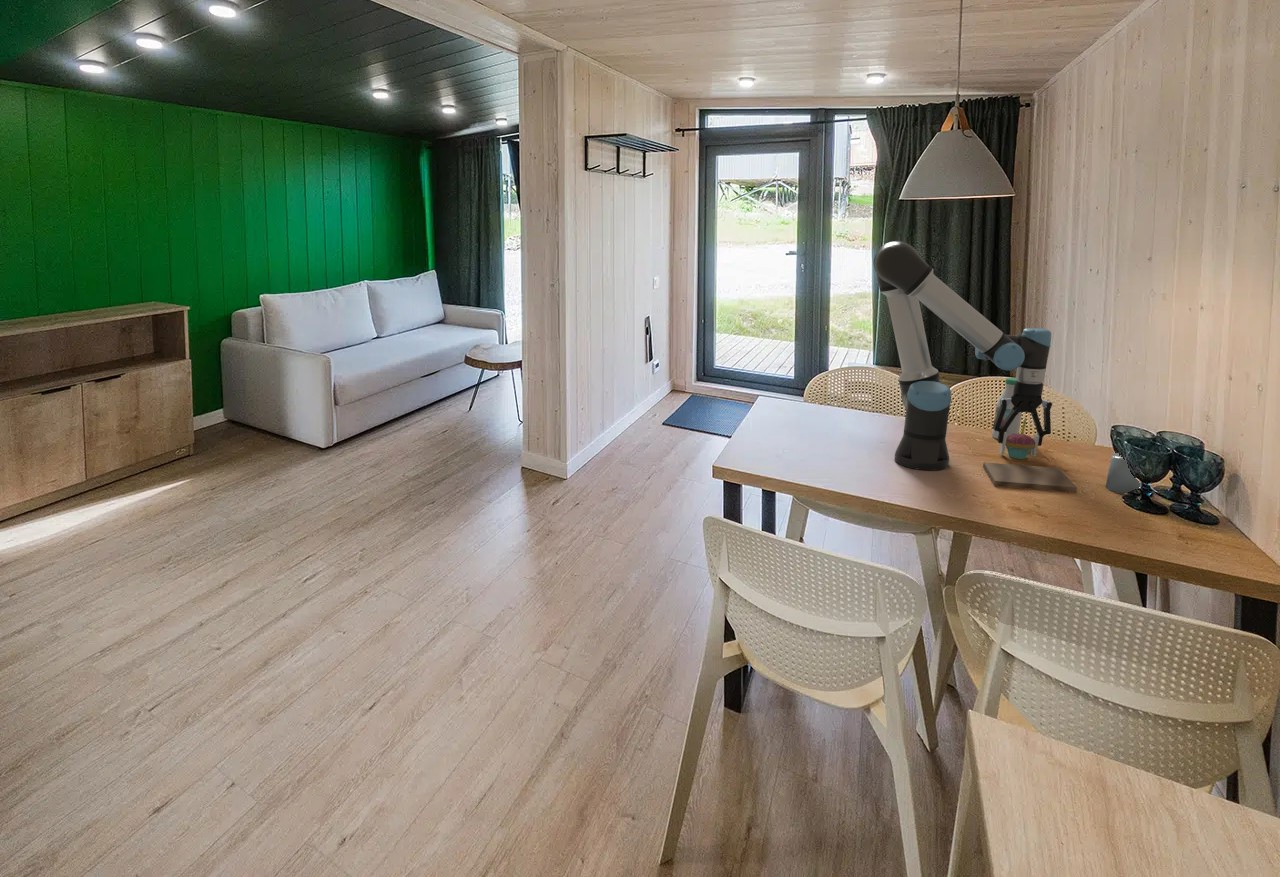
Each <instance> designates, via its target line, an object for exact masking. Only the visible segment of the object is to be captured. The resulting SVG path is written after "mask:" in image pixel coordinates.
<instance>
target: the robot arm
mask: <svg viewBox="0 0 1280 877" xmlns="http://www.w3.org/2000/svg"><path fill="white" fill-rule="evenodd" d="M873 268H874V269H873V270H874V271H875V273H876V278H877V284H878V286H879V287H878V288H879V291H880V293H881V294H883V295H884V296H885V297H886V300H887V306H888V309H889V314H890V319H891V323H892V329H893V333H894V338H895V343H896V348H897V354H898V358H899V362H900V368H901V371H902V372H901V373H900V375H899V376H898V378H897V380H898V384H899V388H900V394H901V395H900V397H901V402H902V405H903V407H904V410H905V416H904V417H905V418H904V427H903V434H902V437H901V440H900V441H899V444H898V445H897V446H896V447H897V448H896V450H895V452H894V461H895V462H896V463H897V464H899V466H900V465H901V466H904V467H907V468H910V469H915V470H922V471H940V470H943V469H944V470H945V469H946V468H948V467H949V465H950V455H949V450H948V446H947V441H946V440H947V439H946V438H947V430H948V422H949V413H950V406H951V403H952V390H951V388H950V386H948V385H946V384H943V383H942V382H941V378H940V373H939V370H938V369H937V368H935V367H934V366H933V365H932V361H931V356H930V351H929V346H928V340H927V334H926V331H925V326H924V321H923V320H924V319H923V314H922V310H921V309H922V308H921V305H920V302H921V304H922V305H924V306H925V307H927V309H929V310H930V311H931V312H932V313H933V314H934V315H936V316H937V317H938V318H940V319H941V320H942V321H943V322H944V323H946V324H947V325H948V326H949V327H950V328H952V330H954V331H956V333H958V335H960V336H962V338H963V339H965V340H966V341H967V342H968V343H970V344H971V345H972V346H973V347H974V349H975V350H974V351H975V352H974V353H975V358H976V359H978V360H984V361H988V360H989V361H991V362H992V364H994V365H995V366H996V367H997V368H999V369H1000V370H1003V371H1007V372H1008V371H1014V370H1016V373H1015V378H1016V379H1017V381H1015V385H1014V391H1013V395H1012V397H1011V398H1008V399H1004V398H1001V399H1000V403H1001V406H1000V408H999V411H998V414H997V417H996V419H995V422H994V421H993V424H994V425H992V430H993V429H994V430H995V431H998V432H999V435H998V439H997V442H998V443H999V444H1000V445H999V451H998V452H999V453H1000V455H1005V451H1006V439H1007V433H1006V432H1005V431H1006V430H1007V428H1008V427H1009V425H1010V424H1011V422H1012V421H1013V420H1014V418H1015V417H1016V415H1018V413H1019V412H1022V413H1028V414H1031V417H1032V420H1033V423H1034V426H1035V430H1036V432H1037V433H1034V434H1033V437H1032V438H1033V439H1034V441H1035V444H1036V445H1035V448H1033V449H1031V450H1030V455H1031V456H1032V457H1033V458H1036V457H1037V452H1038V447H1041V446H1042V444H1043V438H1044V437H1045V436H1046V435H1051V433H1052V428H1051V427H1052V426H1051V425H1052V424H1051V422H1052V421H1051V419H1052V418H1051V409H1052V406H1053V403H1052V401H1050V400H1048V399H1047V400H1044V399H1042V398H1043V397H1042V395H1043V391H1044V390H1043V389H1044V383H1043V382H1045V377H1046V371H1047V366H1048V360H1049V354H1050V349H1051V344H1052V342H1051V341H1052V332H1051V330H1049V329H1045V328H1042V327H1041V328H1040V327H1039V328H1038V327H1027V328H1026V327H1025V328H1023V330H1022V333H1021V334H1014V335H1013V334H1005V333H1004V332H1003V331H1002V330H1001V329H999V328H998V327H997V326H996V325H994V323H992V322H991V321H990V320H988V318H986V317H985V316H984V315H983V314H981V313H980V312H979V311H978V310H977V309H975V308H974V307H973V306H972V305H971V304H969V303H968V302H967V301H966V300H965V299H963V298H962V297H961V296H960V295H959V294H957V293H956V292H955V291H954V290H953V289H951V287H949V286H948V285H947V284H946V283H944V281H942V280H941V279H940V278H939V277H937V276H936V275H935V274H934V268H933V267H931V265H929V264H928V263H927V262H926V261H925V260H924V259H923V258H922V257H921V255H920V254H919V252H917V250H916V249H915V248H914V247H913V246H912V245H911V244H909V243H908V242H905V241H901V240H895V241H893V240H892V241H889V242H887V243H885V244H883V245H881V247H880V248H878V250H877V251H876V253H875V254H874V258H873ZM1010 402H1012V404H1013V406H1014V407H1013V408H1012V410H1011V412H1010V413H1009V415H1008V416H1007V418H1006V419H1005V421H1004V422H1003V424H1002V425H1001V422H1002V419H1003V416H1004V414H1005V411H1006V408H1007V406H1008V405H1009V403H1010ZM1040 406H1041V407H1042V408H1043V427H1042V425H1041V421H1040V420H1041V419H1040V418H1039V414H1038V411H1037V409H1038V408H1039V407H1040ZM1000 425H1001V427H1000Z"/></svg>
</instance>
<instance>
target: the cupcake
mask: <svg viewBox="0 0 1280 877" xmlns="http://www.w3.org/2000/svg"><path fill="white" fill-rule="evenodd" d="M1026 419H1027V418H1026V417H1025V418H1024V420H1023V422H1022V426H1021V427H1022V428H1021V431H1020V432H1021V433H1019V434H1016V433H1015V434H1011V435H1009V436H1007V439H1006V445H1005V448H1006V450H1007V454H1008V457H1009V458H1013V459H1016V458H1017V459H1018V460H1025V459H1026V458H1027V456H1028V454H1029V453H1030V452H1031V450H1032V449H1033V448H1035V445H1036V444H1035V441H1034V439H1033V438H1034V437H1031V436H1030V435H1028V434H1024V433H1025V427H1026V423H1027V420H1026ZM1024 458H1025V459H1024Z"/></svg>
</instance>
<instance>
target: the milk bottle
mask: <svg viewBox="0 0 1280 877" xmlns="http://www.w3.org/2000/svg"><path fill="white" fill-rule="evenodd" d="M1015 381H1017V379H1016V377H1007V378H1005V381H1004V382H1005V384H1004V385H1005V387H1004V390H1003V391H1002V393H1001V394H1000V396H999V398H998V400H997V402H996V407H995V412H994V419H993V425H994V422H995V419H996V417H997V414H998V411H999V408H1000V406H1001V403H1000V399H1001V398H1004V399H1008V398H1011V397H1012V395H1013V391H1014V385H1015ZM1013 407H1014V406H1013V404H1012V402H1010V403H1009V405H1008V406H1007V408H1006V411H1005V414H1004V416H1003V419H1002V422H1001V425H1002V424H1003V422H1004V421H1005V419H1006V418H1007V416H1008V415H1009V413H1010V412H1011V410H1012V408H1013ZM1022 413H1023V412H1019V413H1018V415H1016V417H1015V418H1014V420H1013V421H1012V422H1011V424H1010V425H1009V427H1008V428H1007V430H1006V431H1005V432H1006V433H1007V436H1009V435H1011V434H1015V433H1016V434H1020V433H1019V432H1020V426H1021V421H1022V420H1021V419H1022V415H1023V414H1022ZM993 425H992V426H993ZM1001 425H1000V427H1001ZM998 435H999V432H998V431H995V430H994V429H993V428H992V433H991V436H992V438H994V439H996V440H998Z"/></svg>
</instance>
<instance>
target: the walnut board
mask: <svg viewBox="0 0 1280 877" xmlns="http://www.w3.org/2000/svg"><path fill="white" fill-rule="evenodd" d="M982 468H983V470H984V472H985V473H986V475H987V477H988V478H989V480H990V481H991V483H992V485H993V486H994V487H1001V488H1002V487H1003V488H1015V489H1016V488H1017V489H1023V490H1038V491H1050V492H1052V491H1053V492H1062V493H1074V494H1077V489H1078V487H1077V486H1076V485H1075V484H1074V482H1073V481H1072V480H1071V479H1070V478H1069V477H1068V476H1067V475H1066V473H1065V472H1064V471H1063V470H1062V469H1061V467H1052V466H1051V467H1048V466H1039V465H1037V466H1036V465H1025V464H1010V463H1008V464H1007V463H999V462H984V461H983V463H982Z"/></svg>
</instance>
